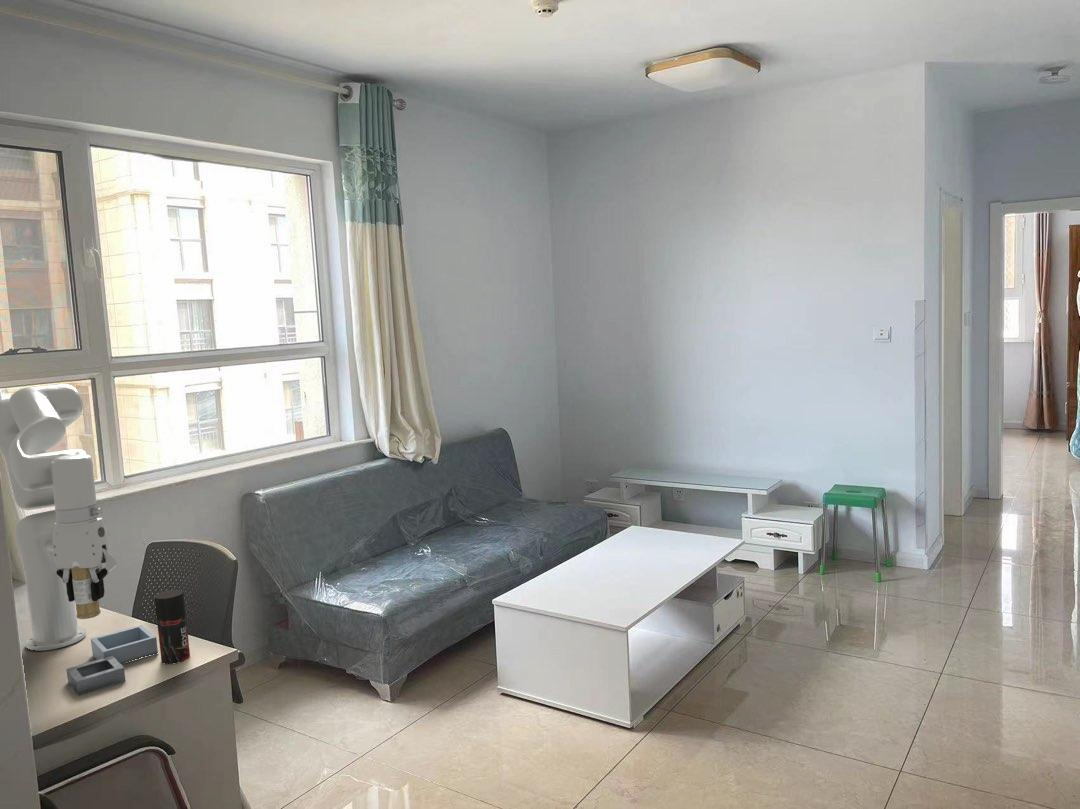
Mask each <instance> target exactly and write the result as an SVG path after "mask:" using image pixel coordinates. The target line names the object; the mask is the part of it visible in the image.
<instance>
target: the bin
mask: <svg viewBox="0 0 1080 809" xmlns="http://www.w3.org/2000/svg"><path fill="white" fill-rule="evenodd" d="M157 640H158V639H157V636H156V635H154V634H153V633H152V632H151V631H150V630H149V629H147V628H146V627H145V626H144V625H143V624H139V625H137V626H133V627H129V628H126V629H122V630H118V631H115V632H110V633H107V634H103V635H99V636H96V637H93V638H90V644H91V645H90V646H91V652H92V654H91V655H92V656H93V658H94V657H95V658H94V659H95V660H99V659H102V658H106V657H109V656H113V657H114V658H115V659H116V660H117V661H118V662H119V663H120V664H122V665H125V664H124V663H126V662H129V661H132V660H135V659H139V658H141V657H145V656H149V655H153V654H156V655H158V654H159V650H158V641H157ZM157 653H158V654H157ZM153 656H154V655H153ZM149 657H150V656H149ZM139 660H140V659H139ZM132 662H133V661H132ZM129 663H130V662H129ZM126 664H127V663H126Z"/></svg>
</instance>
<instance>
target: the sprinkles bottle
mask: <svg viewBox="0 0 1080 809" xmlns="http://www.w3.org/2000/svg"><path fill="white" fill-rule="evenodd" d="M72 566H75V567H74V568H73V569H71V571H72V582H73V590H74V598H75V606H76V615H77V620H78V619H79V620H87V619H92V618H96V617H97V616H99V615H101V608H100V602H99V600H100V599H99V600H97V601H93V600H92V594H91V585H90V584H91V583H92V582H93V580H92V577H91V574H90V571H89V569H82V568H79V567H77V566H80V565H79V564H78V563H77V562H73V564H72Z"/></svg>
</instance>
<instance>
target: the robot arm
mask: <svg viewBox="0 0 1080 809" xmlns="http://www.w3.org/2000/svg"><path fill="white" fill-rule="evenodd" d="M82 412H83V399H82V397H81V394H80V392H79V391H78V390H77V389H76V388H75V387H74V386H72V385H70V384H64V383H63V384H62V383H61V384H60V383H59V384H51V385H49V384H48V385H40V386H29V387H23V388H19V389H18V390H16V391H15V392H13V393H12V394H11V395H10V396H9V398H5V399H1V400H0V452H1V454H2V455H3V457H4V459H5V463H6V466H7V467H6V468H7V472H8V477H9V481H10V485H11V490H12V494H13V497H14V500H15V503H16V505H17V507H19V509H22V510H25V511H33V510H41V509H46V508H53V507H54V510H50V511H42V512H37V513H32V514H30V515H27V516H25V517H23V518H21V519H19V520H18V521H17V523H16V525H15V526H14V536H15V542H16V544H17V548H18V550H19V554H20V557H21V561H22V566H23V573H24V579H25V580H24V581H25V586H26V588H25V589H26V595H27V604H28V611H29V619H30V628H31V633H32V636H31V637H29V638H28V639H27V640H26V641H25V648H26V649H27V648H28V649H27V650H29V649H30V651H33V650H35V651H36V652H37V651H38V652H39V651H41V652H42V651H51V650H56V649H60V648H65V647H67V646H71V645H73V644H75V643H78V642H79V641H81V640H83V639H84V638H85V637H86V635H87V631H86V629H85V628H84V627H82V626H79V625H78V624H79V623H78V618H77V611H76V603H75V598H74V590H73V582H72V571H71V569H73V568H74V567H75V566H72V564H73V562H77V563H78V564H79V565H80V566H77V567H79V568H82V569H89V571H90V574H91V577H92V580H93V582H92V583H91V584H90V585H91V594H92V600H93V601H97V600H100V599H102V598H104V597H105V593H106V591H105V584H104V579H105V578H106V577H107V575H108V574H109V573H110V572H111V571H112V570H113V569H115V568H116V567H117V566H118V562H117V561H116V560H115V558H113V557H112V556H113V555H112V549H111V543H110V539H109V534H108V530H107V526H106V525H105V522H104V520H103V517H99V516H101V515H103V508H100V507H98V504H97V494H96V486H95V477H94V476H95V475H94V464H93V460H92V456H91V455H89V454H88V453H87V452H86V451H85V450H84V449H79V448H73V449H72V448H71V449H66V450H64V449H63V450H56V451H50V452H47V450H49V449H51V448H53V447H54V446H56V445H57V444H59V443H60V442H61V441H63V439H64V437H65V435H66V432H67V430H66V428H67V427H69V426H71V425H72V424H73V423H74V422H76V421H77V420H78V419H79V418H80V417H81V415H82ZM103 564H105V566H104V567H103Z"/></svg>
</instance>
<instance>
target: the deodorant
mask: <svg viewBox="0 0 1080 809" xmlns="http://www.w3.org/2000/svg"><path fill="white" fill-rule="evenodd" d="M154 604H155V606H154V607H155V614H156V624H157V633H158V641H159V652H160V659H161V660H160V661H161V663H162V664H163V663H165V664H164V665H174V664H173V663H176V664H179V663H178V662H180V663H182V661H183V662H185V661H187V660H189V658H190V657H191V653H190V643H189V632H188V624H187V623H188V622H187V614H186V613H187V612H186V605H185V594H184V590H182V589H170V590H165V591H164V590H163V591H161V592H158V593H156V594H154ZM186 659H187V660H186ZM184 660H185V661H184Z"/></svg>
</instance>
